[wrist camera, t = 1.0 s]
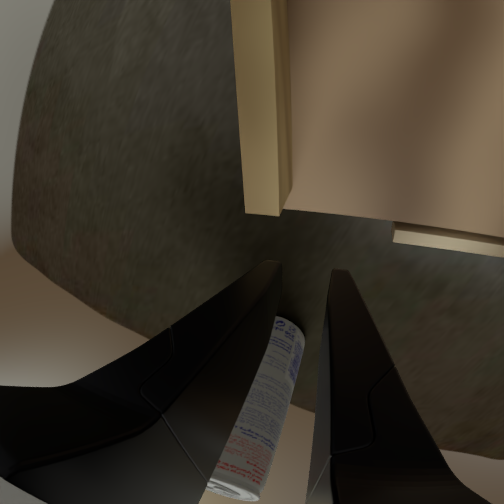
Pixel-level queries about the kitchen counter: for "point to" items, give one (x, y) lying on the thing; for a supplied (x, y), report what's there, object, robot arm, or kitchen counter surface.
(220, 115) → the kitchen counter surface
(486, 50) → the lid
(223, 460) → the beverage can
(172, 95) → the kitchen counter surface
